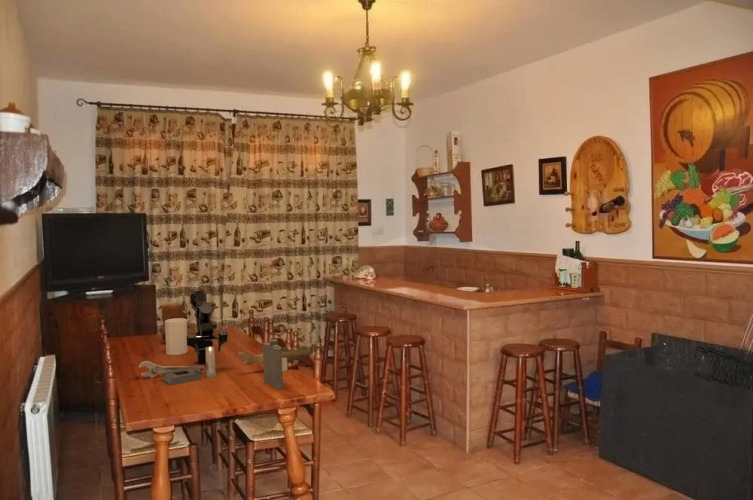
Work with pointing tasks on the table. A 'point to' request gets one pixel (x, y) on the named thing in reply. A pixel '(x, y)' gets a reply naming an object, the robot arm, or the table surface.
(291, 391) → the table surface
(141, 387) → the table surface
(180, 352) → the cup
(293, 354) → the wood carving
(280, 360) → the hip flask
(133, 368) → the table surface
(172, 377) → the grey square frame
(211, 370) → the pin
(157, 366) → the wrench
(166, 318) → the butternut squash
